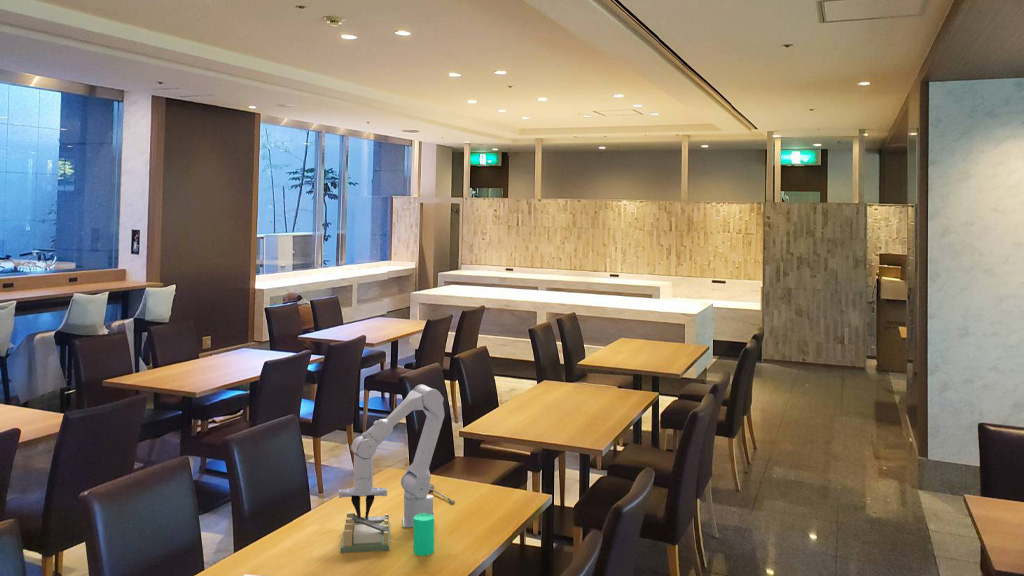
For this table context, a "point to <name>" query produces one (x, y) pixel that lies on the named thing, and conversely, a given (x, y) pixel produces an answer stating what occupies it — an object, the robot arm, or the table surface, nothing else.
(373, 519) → the strap far
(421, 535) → the candle
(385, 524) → the board
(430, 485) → the soupspoon
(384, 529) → the strap near
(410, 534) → the table surface
